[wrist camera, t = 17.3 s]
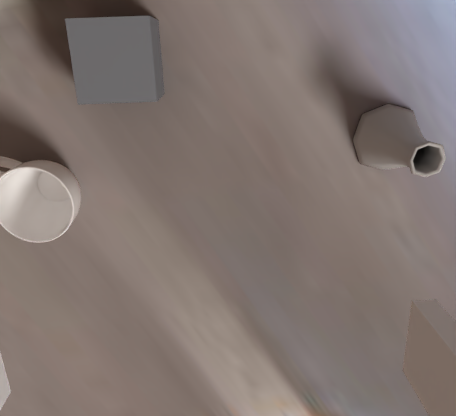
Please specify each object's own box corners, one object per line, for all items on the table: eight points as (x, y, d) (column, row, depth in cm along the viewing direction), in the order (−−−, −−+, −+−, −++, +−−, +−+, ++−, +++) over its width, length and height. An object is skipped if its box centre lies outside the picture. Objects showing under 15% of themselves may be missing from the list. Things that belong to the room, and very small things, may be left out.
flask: (353, 105, 46) (389, 121, 36) (421, 100, 46) (474, 115, 36) (350, 171, 48) (384, 201, 39) (415, 167, 48) (463, 196, 39)
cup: (67, 230, 50) (46, 257, 43) (-12, 177, 47) (-47, 198, 41) (105, 179, 48) (89, 199, 41) (24, 121, 45) (-6, 134, 39)
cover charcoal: (86, 22, 42) (64, 18, 36) (158, 20, 42) (149, 15, 36) (96, 96, 44) (77, 104, 38) (164, 93, 45) (157, 101, 39)
